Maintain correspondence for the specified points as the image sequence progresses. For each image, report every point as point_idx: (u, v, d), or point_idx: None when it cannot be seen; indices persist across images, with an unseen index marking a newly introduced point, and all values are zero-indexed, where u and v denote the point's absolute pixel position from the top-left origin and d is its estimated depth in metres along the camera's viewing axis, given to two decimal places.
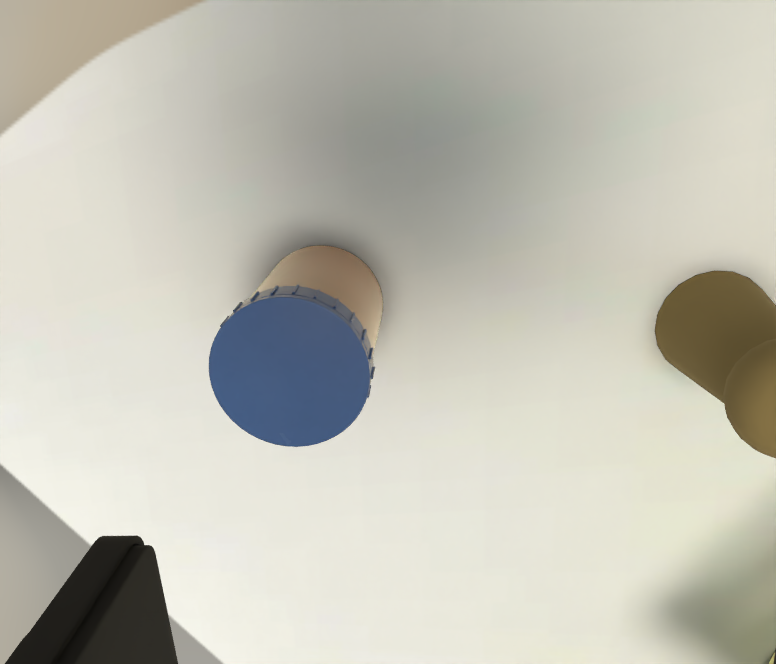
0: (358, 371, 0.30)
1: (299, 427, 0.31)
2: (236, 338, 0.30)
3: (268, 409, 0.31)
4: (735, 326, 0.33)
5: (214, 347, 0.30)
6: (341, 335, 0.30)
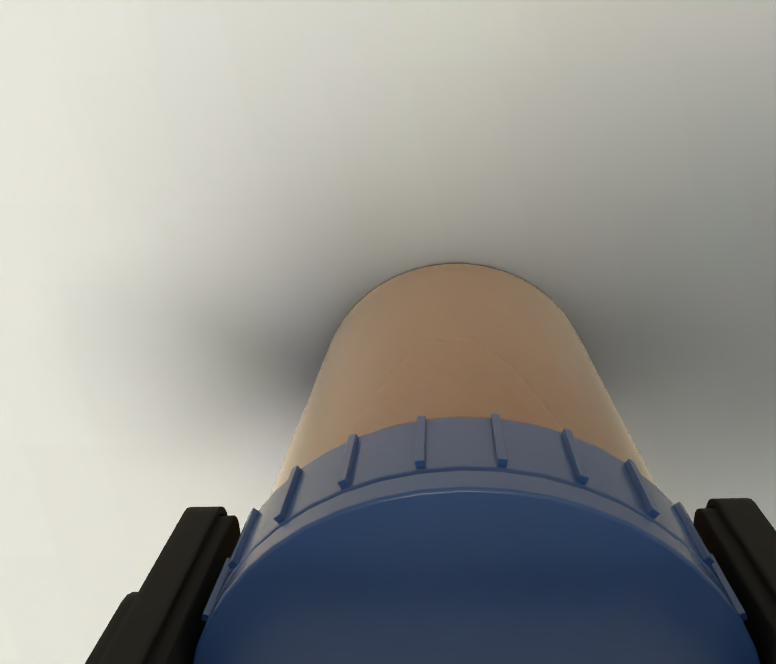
0: None
1: None
2: (624, 598, 0.08)
3: None
4: None
5: (593, 522, 0.07)
6: None
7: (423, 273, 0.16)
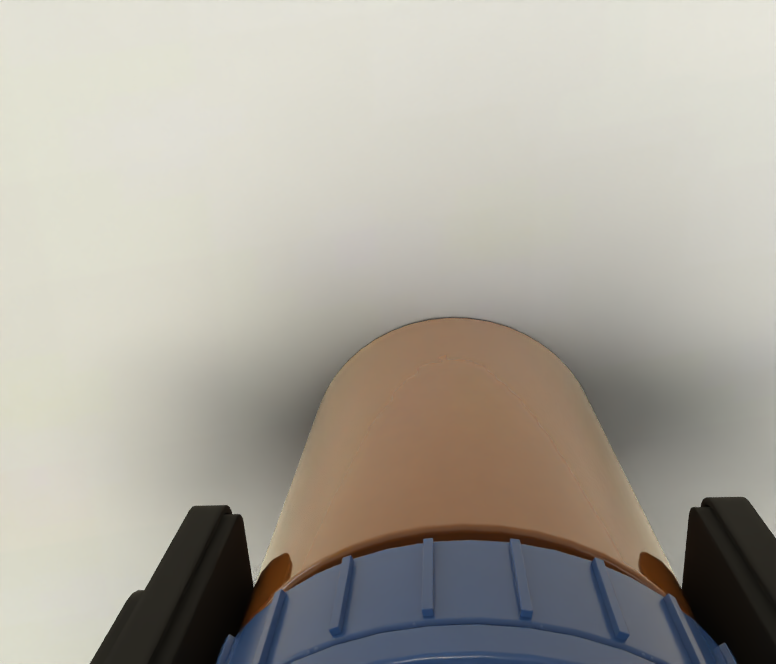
0: None
1: None
2: None
3: None
4: None
5: None
6: None
7: None
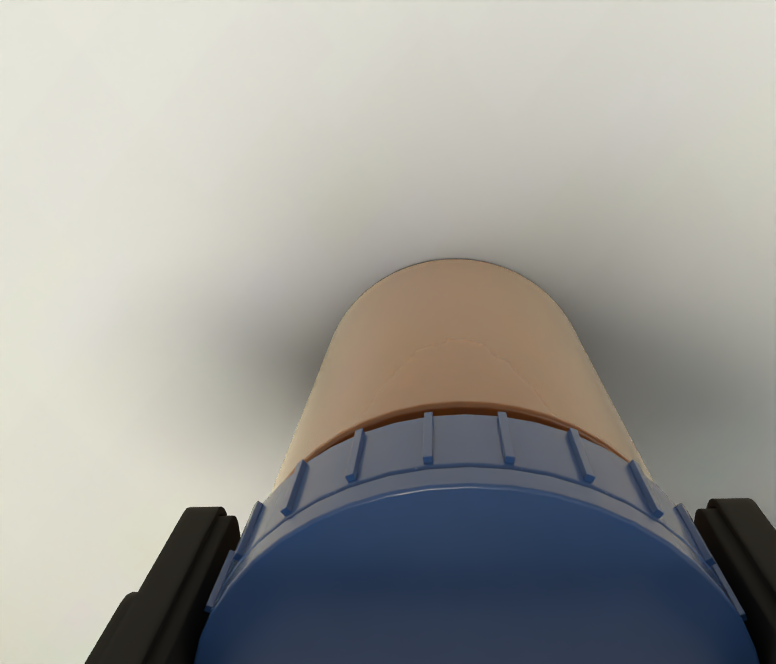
0: None
1: None
2: (292, 614, 0.08)
3: None
4: None
5: (211, 639, 0.08)
6: (687, 622, 0.08)
7: (545, 297, 0.17)
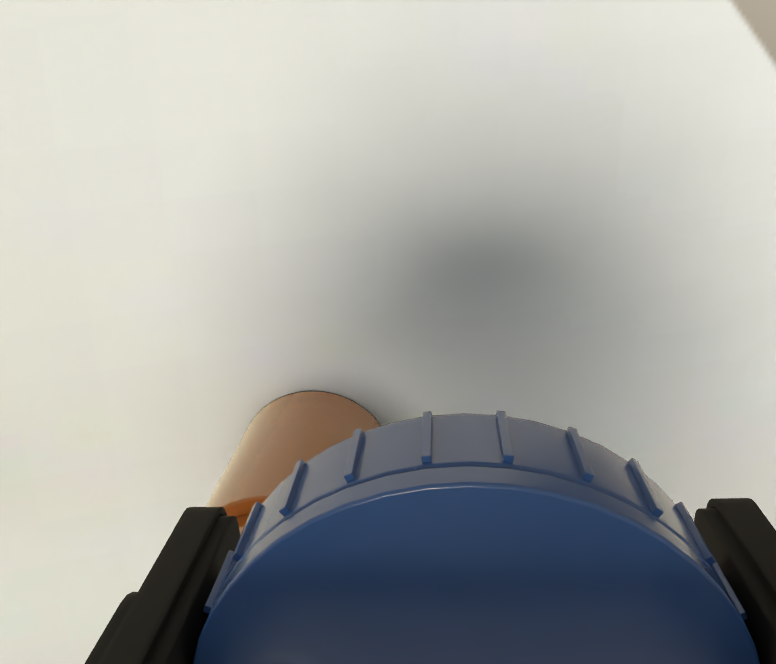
0: None
1: None
2: (291, 615, 0.08)
3: None
4: None
5: (210, 639, 0.08)
6: (687, 621, 0.08)
7: None
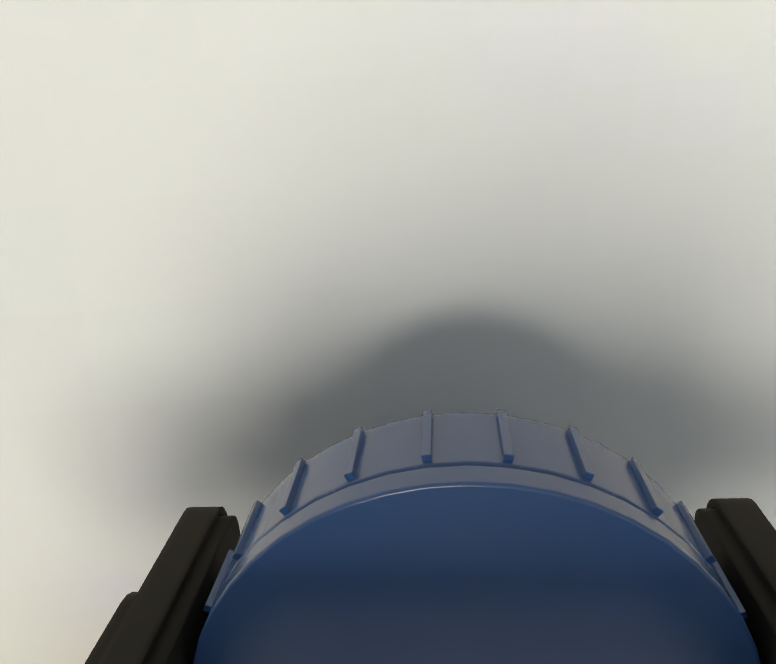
0: None
1: None
2: (291, 614, 0.08)
3: None
4: None
5: (210, 638, 0.08)
6: (687, 620, 0.08)
7: None
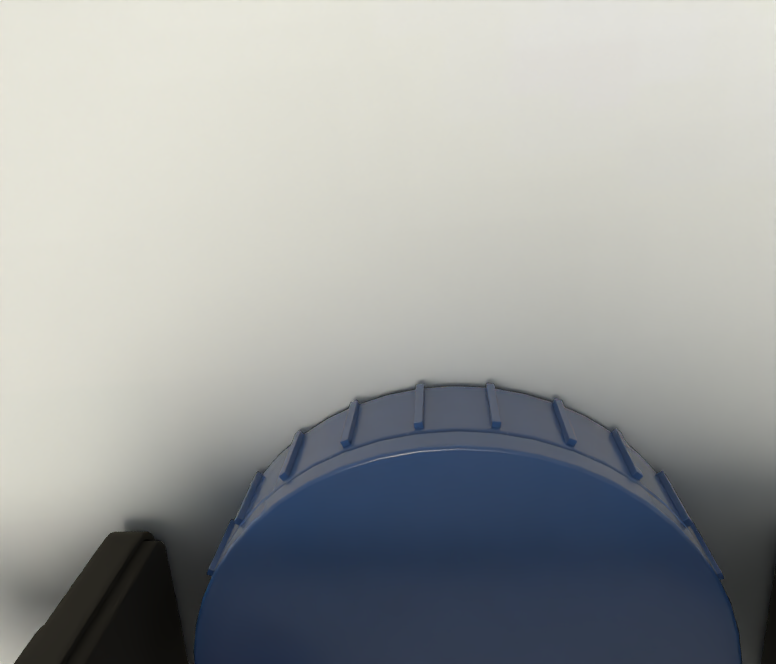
0: None
1: None
2: (290, 574, 0.09)
3: None
4: None
5: (213, 598, 0.09)
6: (665, 578, 0.08)
7: None
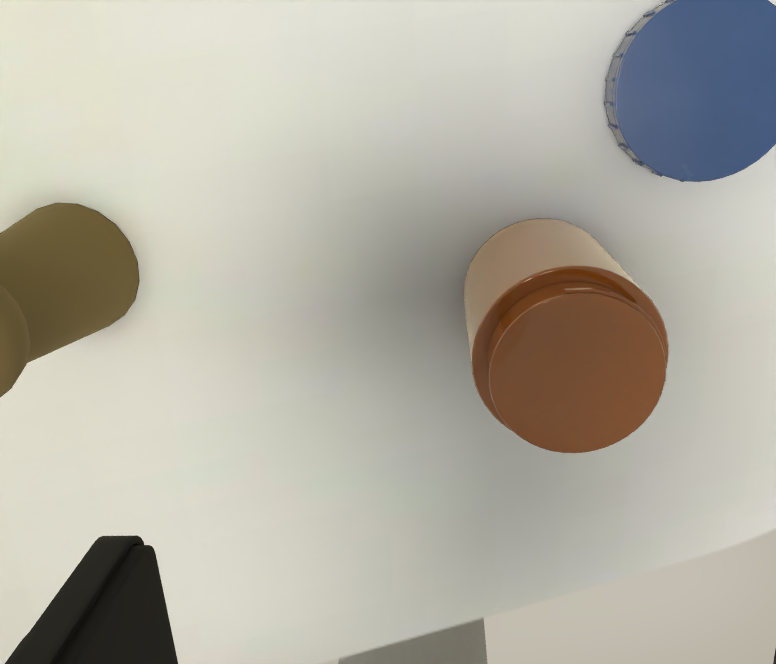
0: None
1: (707, 156, 0.28)
2: (657, 42, 0.27)
3: (675, 133, 0.28)
4: (44, 353, 0.28)
5: (629, 53, 0.27)
6: None
7: None
